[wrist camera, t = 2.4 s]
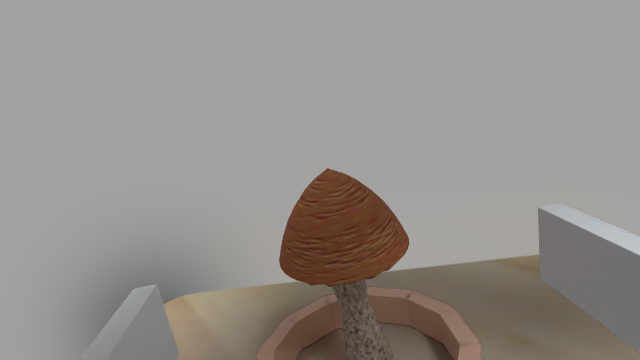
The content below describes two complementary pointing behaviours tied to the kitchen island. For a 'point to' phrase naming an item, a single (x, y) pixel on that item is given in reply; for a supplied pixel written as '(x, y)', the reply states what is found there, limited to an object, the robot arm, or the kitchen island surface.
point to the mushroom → (344, 252)
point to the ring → (388, 308)
